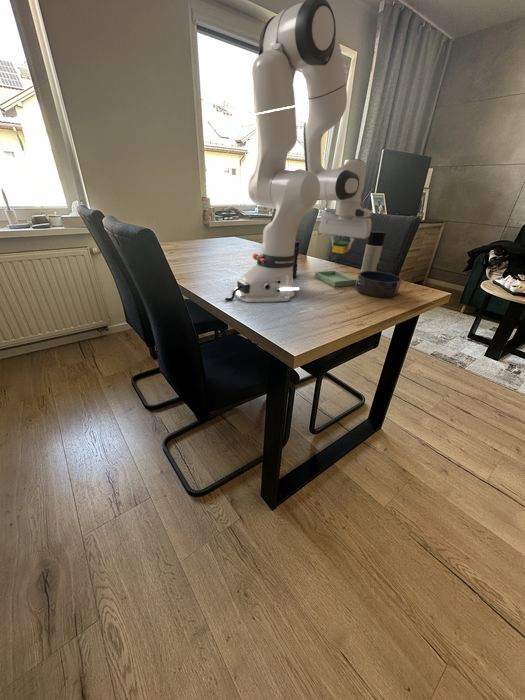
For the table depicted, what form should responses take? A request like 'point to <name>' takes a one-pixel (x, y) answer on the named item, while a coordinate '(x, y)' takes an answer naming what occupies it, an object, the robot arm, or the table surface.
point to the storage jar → (296, 252)
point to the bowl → (378, 284)
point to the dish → (335, 278)
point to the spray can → (373, 251)
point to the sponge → (340, 247)
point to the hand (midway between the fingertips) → (341, 247)
